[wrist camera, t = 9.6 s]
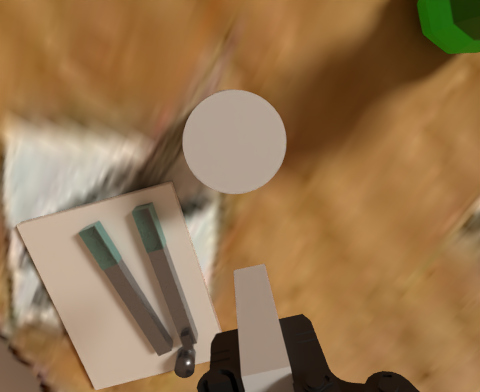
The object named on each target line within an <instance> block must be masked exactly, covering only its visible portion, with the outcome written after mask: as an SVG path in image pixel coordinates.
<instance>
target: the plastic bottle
mask: <svg viewBox="0 0 480 392" xmlns="http://www.w3.org/2000/svg"><path fill="white" fill-rule="evenodd" d="M417 9H418V14H419V19H420V24H421V28H422V33H423V35H424V36H426V37H427V38H428V39H429V40H431V41H432V42H433V43H434V44H435V45H437V46H438V47H439V48H440V49H442V50H443V51H444V52H446V53H447V54H458V53H478V52H480V0H418V3H417Z"/></svg>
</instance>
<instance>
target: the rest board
mask: <svg viewBox="0 0 480 392" xmlns="http://www.w3.org/2000/svg"><path fill="white" fill-rule="evenodd" d="M151 202H153V205H154V208H155V210H156V213H157V216H158V219H159V222H160V225H161V227H162V230H163V233H164V236H165V239H166V244H167V247H168V250H169V253H170V255H171V258H172V261H173V264H174V267H175V270H176V272H177V275H178V278H179V281H180V284H181V286H182V289H183V292H184V295H185V298H186V301H187V303H188V306H189V309H190V312H191V315H192V317H193V320H194V323H195V326H196V329H197V332H198V339H197V343H196V344H194V349H195V351H196V357H195V365H196V364H200V363H204V362H208V361H210V355H211V354H210V349H211V342H212V340H213V338H214V337H215V335H216V333H221V332H222V330H221V327H220V324H219V321H218V318H217V315H216V312H215V309H214V306H213V303H212V300H211V297H210V294H209V291H208V288H207V285H206V282H205V279H204V276H203V273H202V270H201V267H200V264H199V261H198V258H197V255H196V252H195V249H194V246H193V243H192V240H191V237H190V234H189V231H188V227H187V224H186V221H185V218H184V215H183V212H182V209H181V206H180V203H179V200H178V197H177V194H176V191H175V188H174V185H173V182H172V181H170V182H166V183H163V184H159V185H155V186H151V187H148V188H144V189H140V190H137V191H133V192H129V193H126V194H122V195H118V196H114V197H111V198H107V199H103V200H100V201H96V202H92V203H89V204H85V205H81V206H77V207H74V208H70V209H66V210H63V211H59V212H55V213H52V214H48V215H44V216H40V217H37V218H33V219H29V220H26V221H22V222H20V223H19V224H17V225H16V226H17V228H18V230H19V233H20V235H21V237H22V239H23V241H24V243H25V245H26V247H27V249H28V251H29V253H30V255H31V257H32V260H33V262H34V264H35V266H36V268H37V270H38V272H39V274H40V276H41V278H42V280H43V282H44V284H45V287H46V289H47V291H48V293H49V295H50V297H51V299H52V301H53V303H54V305H55V307H56V309H57V311H58V313H59V316H60V318H61V320H62V322H63V324H64V326H65V328H66V330H67V332H68V334H69V336H70V338H71V340H72V343H73V345H74V347H75V349H76V351H77V353H78V355H79V357H80V359H81V361H82V363H83V365H84V367H85V370H86V372H87V374H88V376H89V378H90V380H91V382H92V384H93V386H94V388H95V390H98V389H102V388H106V387H110V386H114V385H118V384H122V383H126V382H130V381H133V380H137V379H141V378H145V377H149V376H153V375H157V374H161V373H165V372H169V371H172V370H174V368H175V362H176V356H177V351H178V349H179V348H180V347H182V343H181V341H180V338H179V335H178V333H177V330H176V327H175V325H174V322H173V319H172V317H171V314H170V311H169V309H168V306H167V303H166V301H165V298H164V295H163V293H162V290H161V287H160V285H159V282H158V279H157V277H156V274H155V271H154V269H153V266H152V263H151V261H150V258H149V255H148V253H147V252H146V250H145V247H144V244H143V242H142V239H141V236H140V234H139V231H138V228H137V226H136V223H135V220H134V218H133V215H132V211H133V209H134V208H135V207H136V206H140V205H144V204H147V203H151ZM97 221H100V222H101V224H102V226H103V227H104V229H105V230H106V232H107V234H108V235H109V237H110V239H111V240H112V242H113V243H114V245H115V247H116V248H117V250H118V251H119V253H120V255H121V256H122V260H123V261H124V263H125V264H126V266H127V268H128V269H129V271H130V272H131V274H132V276H133V277H134V279H135V280H136V282H137V284H138V285H139V287H140V289H141V290H142V292H143V293H144V295H145V297H146V298H147V300H148V301H149V303H150V305H151V306H152V308H153V310H154V311H155V313H156V314H157V316H158V318H159V319H160V321H161V322H162V324H163V326H164V327H165V329H166V330H167V332H168V334H169V335H170V337H171V339H172V340H173V348H172V351H170V352H168V353H165V354H163V355H161V356H158V354H157V353H156V351H155V350H154V348H153V347H152V345H151V344H150V342H149V340H148V339H147V337H146V336H145V334H144V333H143V331H142V330H141V328H140V327H139V325H138V323H137V322H136V320H135V319H134V317H133V316H132V314H131V313H130V311H129V309H128V308H127V306H126V305H125V303H124V302H123V300H122V299H121V297H120V295H119V294H118V292H117V291H116V289H115V288H114V286H113V285H112V283H111V282H110V280H109V278H108V277H107V275H106V274H105V272H104V271H103V270H102V269H101V268H100V266H99V265H98V263H97V261H96V260H95V258H94V257H93V255H92V254H91V252H90V251H89V249H88V247H87V246H86V244H85V243H84V241H83V240H82V238H81V237H80V235H79V234H78V233H79V232H80V231H81V230H82V229H83V228H84V227H86V226H88V225H90V224H93V223H95V222H97Z"/></svg>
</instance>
